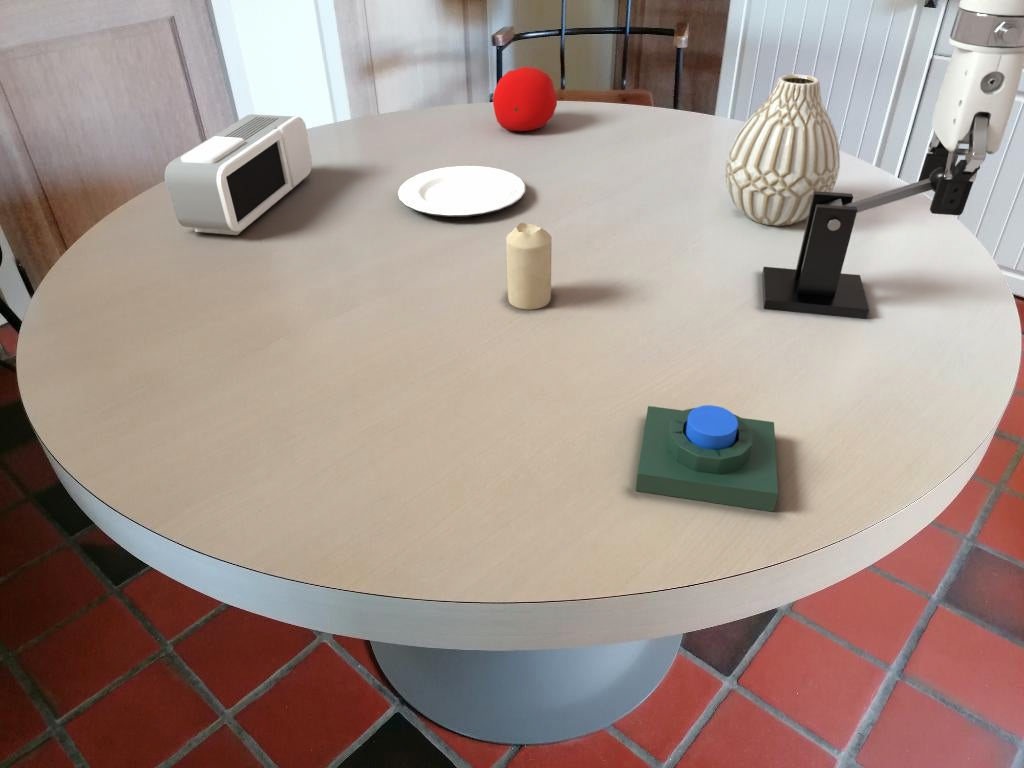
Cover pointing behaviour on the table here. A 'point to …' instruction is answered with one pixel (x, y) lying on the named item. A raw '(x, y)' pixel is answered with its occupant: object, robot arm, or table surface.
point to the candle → (529, 266)
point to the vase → (784, 154)
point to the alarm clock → (238, 173)
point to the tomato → (524, 99)
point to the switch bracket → (820, 266)
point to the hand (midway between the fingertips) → (938, 199)
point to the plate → (461, 191)
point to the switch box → (708, 462)
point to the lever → (896, 192)
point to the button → (711, 427)
